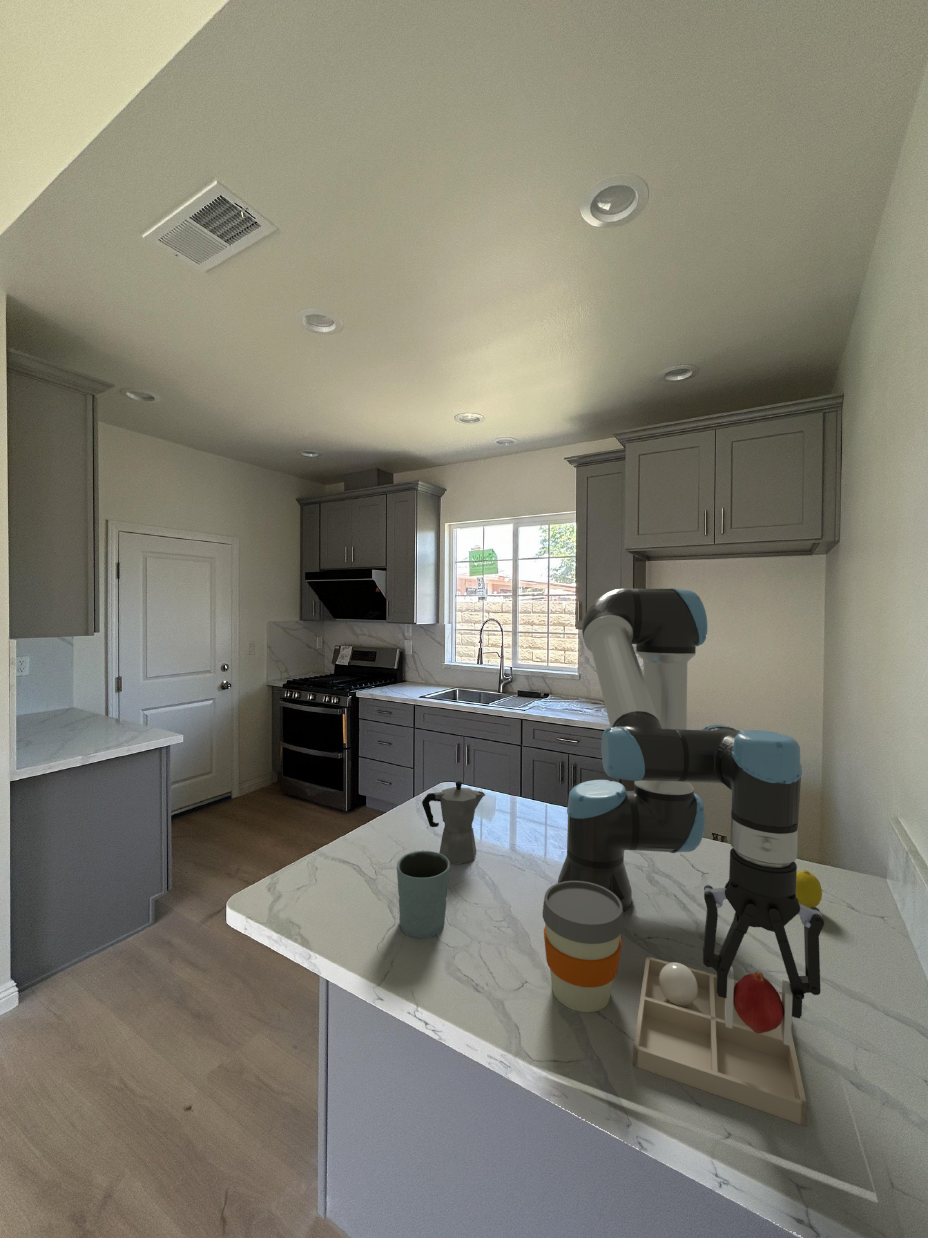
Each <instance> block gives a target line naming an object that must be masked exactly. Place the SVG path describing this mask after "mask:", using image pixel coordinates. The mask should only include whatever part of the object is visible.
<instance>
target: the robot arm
mask: <svg viewBox="0 0 928 1238" xmlns="http://www.w3.org/2000/svg"><path fill="white" fill-rule="evenodd" d="M585 613H586V614H585V615H584V617H583V621H582V629H581V634H582V639H583V642H584V645H585V648H586V649H587V650H588V651H589V652H590V653H591V654H592V658H593V663H594V665H595V669H596V674H597V678H598V682H599V685H600V690H601V693H602V698H603V702H604V706H605V711H606V713H607V718H608V722H609V726H610V727H607V728H605V729H604V730H603V732H602V734H601V735H602V736H601V742H600V743H601V744H600V746H601V747H600V748H601V749H600V752H601V753H600V754H601V761H602V768H603V771H604V773H605V774H606V775H607V776H608V777H610V778H612V779H617V780H623V781H624V780H626V781H633V783H634V785H633V786H634V787H633V790H626V787H625V785H623V784H622V783H621V782H618V781H615V780H612V781H610V779H593V780H587V781H583V782H581V783H578V784H577V785H575V786H573V787H572V788H571V790H570V792H569V794H568V801H567V808H566V814H567V833H566V834H567V837H566V838H567V839H566V856H565V859H564V862H563V865H562V867H561V870H560V872H559V876H558V879H557V883H560V882H565V881H584V882H590V883H594V884H597V885H600V886H602V887H604V888H606V889H608V890H610V891H611V892H613V893H614V894H615V895H616V896H617V897H618V898H619V900H620V901H621V903H622V908H623V913H624V912H625V911H627V910H628V909H629V908H630V906H631V905H632V901H633V900H632V894H633V892H632V886H631V883H630V880H629V877H628V873H627V869H626V866H625V861H624V860H625V851H642V852H660V853H670V854H676V853H690V852H691V853H692V852H693V851H695V850H696V849H697V848H699V846H700V845H701V843H702V841H703V837H704V833H705V826H706V815H705V812H704V810H705V807H704V803H703V800H702V798H701V797H700V796H699V795H698V794H697V793H695V789H694V786H693V785H692V783H710V784H711V783H712V784H722V785H724V786H726V787H727V788H728V789H729V790H730V791H731V811H730V812H731V814H730V815H731V817H730V839H729V841H730V846H731V849H730V851H729V873H728V875H729V877H728V880H727V882H726V883H725V885H724V887H721V888H720V887H719V888H714V887H713V886H711V885H710V884H706V885H705V886H704V888H703V898H704V899H703V900H704V902H705V906H706V916H705V927H704V935H703V937H704V938H703V947H702V948H703V949H702V962H703V965H704V966H705V967H706V968H712V969H714V970H715V972H716V975H717V994H718V996H719V997H723V998H725V1021H726V1027H728V1028H731V1029H732V1023H733V994H734V980H735V979H734V978H735V977H734V975H735V974H734V967H733V966H732V965H733V963H734V960H735V957H736V956H737V953H738V950H739V948H740V946H741V943H742V942H743V939H744V937H745V934H746V935H747V933H748V931H749V928H750V927H752V928H761V929H763V930H766V931H770V932H774V935H775V938H776V941H777V945H778V948H779V951H780V954H781V958H782V961H783V964H784V968H785V972H786V974H787V978H788V981H787V980H784V979H782V981H781V983H782V986H781V992H782V1004H783V1008H784V1015H783V1019H782V1021H781V1033H782V1038H783V1043H784V1044H785V1045H788V1046H791V1032H792V1020H793V1019H792V1018H796V1019H799V1020H800V1019H801V1017H802V1016H803V1012H802V1011H803V1000H804V999H805V994H808V993H810V994H812V996H813V995H814V996H818V995H820V994H821V961H820V960H821V959H820V957H821V956H820V934H821V933H822V931H823V928H824V925H825V921H824V918H823V915H822V913H821V910H820V909H819V908H817V907H818V906H816V907H811V908H808V907H806V906H804V905H802V904H800V903H799V901H798V899H797V897H796V875H797V872H798V871H797V869H798V865H797V863H796V862H795V861H796V860H797V859H798V841H799V839H798V837H799V836H798V835H799V834H798V833H799V832H798V831H799V830H798V829H799V818H800V800H801V782H802V781H801V779H802V775H803V769H802V764H801V746H800V744H799V742H798V741H797V740H796V739H795V738H793V737H792V736H789V735H787V734H781V733H778V732H774V731H770V730H769V731H768V730H761V729H756V730H755V729H747V730H742V731H740V730H738V729H735V728H734V727H732V726H731V727H730V726H726V725H723V724H712V725H708V726H705V727H704V728H702V729H688V728H687V724H688V723H687V721H688V719H687V718H688V717H687V716H688V663H689V662H690V660H691V659H692V658H694V657H695V656H696V655H697V654H696V652H697V648H696V647H699V646H701V645H703V644H704V643H705V641H706V640H707V635H708V617H707V612H706V609H705V605H704V603H703V601H702V600H701V598H700V595H698V594H697V593H696V592H695V591H692V590H690V589H682V588H681V589H680V588H630V587H629V588H628V587H625V588H623V587H622V588H617V589H612V590H610V591H607V592H606V593H604V594H602V595H601V596H599V597H598V598H597V599H596V600H594V601H593V603H592V604H591V605H590V606H589V608H588V609H587V611H586V612H585ZM633 645H635V649H636V650H635V649H634V646H633ZM636 654H637V655H638V656H639V657H640V658H641V659H642V662H643V671H642V669H641V666H640V663H639V660H638V658H637V655H636ZM726 899H727V901H728V903H729V904H730V906H731V907H732V909H733V911H735V912H734V916H733V919H732V922H731V925H730V927H729V929H728V932H727V934H726V936H725V939H724V941H723V944H722V946H721V948H720V951H719V953H718V954H717V953H715V948H716V938H717V927H718V916H719V914H718V913H719V911H718V909H720V908H721V907H722V906H724V905H723V902H724V900H726ZM798 915H799V916H800V917H799V918H800V921H801V922H800V923H801V924H802V925H803V935H804V936H803V937H804V938H803V939H804V940H803V941H804V967H805V968H804V970H805V975H799V972H798V967H797V964H796V962H795V959H794V956H793V955H794V954H793V952H792V949H791V946H790V945H791V944H790V942H789V938H788V936H787V931H786V929H785V926H786V925H787V924H789V923H790V922H791V921H792V920H793V919H794V918H795V917H796V916H798Z"/></svg>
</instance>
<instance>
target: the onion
mask: <svg viewBox="0 0 928 1238" xmlns="http://www.w3.org/2000/svg"><path fill="white" fill-rule="evenodd" d="M737 981H738V982H737V983H736V984H735V986H734V994H733V1003H734V1007H735V1010H736V1012H737V1014H738V1016H739V1017H740V1018H741V1020H742V1021H743V1022H744V1023H745V1024H746V1025H747V1026H749V1027H750V1028H751V1029H752V1030H753V1031H754V1032H755V1033H758V1034H761V1033H764V1032H769V1031H771V1030H773V1029H776V1028H777V1027H778V1026H779V1025H780V1024H781V1021H782V1019H783V1015H784V1008H783V1004H782V1001H781V998H780V996H779V994H778V992H779V991H778V990H777V989H776V988H775V987H774V985H773V984H772V983H771V982H770V981H769V980H768V979H767V978H765V977H764V973H763V972H761V971H755V972H754V973H749V974H745V975H744V976H742V977H741V978H740V979H739V980H737ZM777 991H778V992H777Z"/></svg>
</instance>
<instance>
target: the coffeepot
mask: <svg viewBox="0 0 928 1238" xmlns="http://www.w3.org/2000/svg"><path fill="white" fill-rule="evenodd" d="M454 784H455V786H453V787H448V788H445V789H442V790H441V792H440V791H439V792H430V793H427V794H426V795H425V797H424V798H423V799H422V801H421V805H422V808H423V810H424V813H425V816H426V818H427V822H428V824H429V827H430V828H438V827H439V825H440V823H439V822H434V815H433V813H432V809H431V805H430V802H440V809H441V817H442V822H444V827H443V831H442V835H441V842H440V848H439V852H438V853H440V854H442V855H444V856H445V857H446V858H447V859H448V860H449V863H450V864H453V865H455V864H456V865H460V864H461V865H462V864H468V863H470V862H472V861H474V860H475V858H476V854H477V846H476V840H475V833H474V827H473V822H474V819H475V812H476V811H475V810H476V809H477V807H478V806H479V803H480V802H481V800H482V799H483V798H484V797H485V796H486V794H485V792H483V791H481V790H473V789H471V788H469V787H462V785H463V782H462V781H455V783H454Z"/></svg>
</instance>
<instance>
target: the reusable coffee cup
mask: <svg viewBox="0 0 928 1238" xmlns="http://www.w3.org/2000/svg"><path fill="white" fill-rule="evenodd" d="M541 914H542V919H543V922H544V924H545V925H544V928H543V939H544V950H545V956H546V963H547V966H548V967H549V971H550V980H551V981H550V982H551V989H552V992H553V994H554V996H555V998H556V999H557V1000H558V1002H559V1003H561V1004H562V1005H564V1006H565V1007H567V1008H568V1009H571V1010H574V1011H577V1012H582V1013H592V1012H593V1013H594V1012H597V1011H601V1010H602V1009H603V1008H606V1006H607V1005H608V1004H609V1001H610V1000H611V995H612V994H611V993H612V987H613V983H614V979H615V978H616V976H617V974H618V971H619V970H618V969H619V963H620V957H621V951H622V939H621V934H622V933H623V931H624V929H625V927H624V926H625V923H624V920H625V919H624V912H623V908H622V903H621V901H620V900H619V898H618V897H617V896H616V895H615V894H614V893H613V892H611V891H610V890H608V889H606V888H604V887H602V886H600V885H597V884H594V883H590V882H584V881H565V882H560V883H558V882H557V883H555V884H552V885H551V886H549V887H548V888H547V890H546V891H545V893H544V899H543V905H542V913H541Z"/></svg>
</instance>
